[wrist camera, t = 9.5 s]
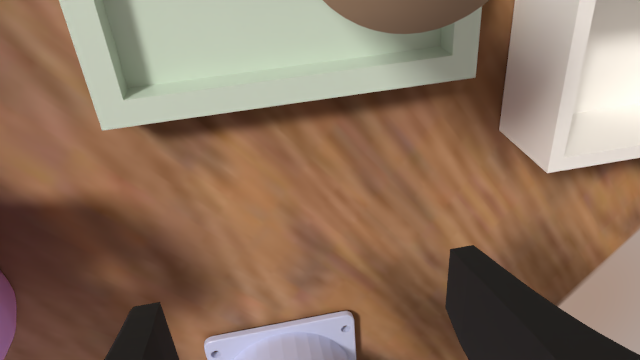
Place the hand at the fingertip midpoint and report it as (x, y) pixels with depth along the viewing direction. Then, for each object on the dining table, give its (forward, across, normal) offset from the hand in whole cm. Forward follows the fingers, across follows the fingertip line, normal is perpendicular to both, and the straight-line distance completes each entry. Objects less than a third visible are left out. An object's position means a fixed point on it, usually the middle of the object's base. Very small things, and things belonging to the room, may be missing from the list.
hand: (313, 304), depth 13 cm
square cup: (+10, -14, -2) cm, 18 cm away
